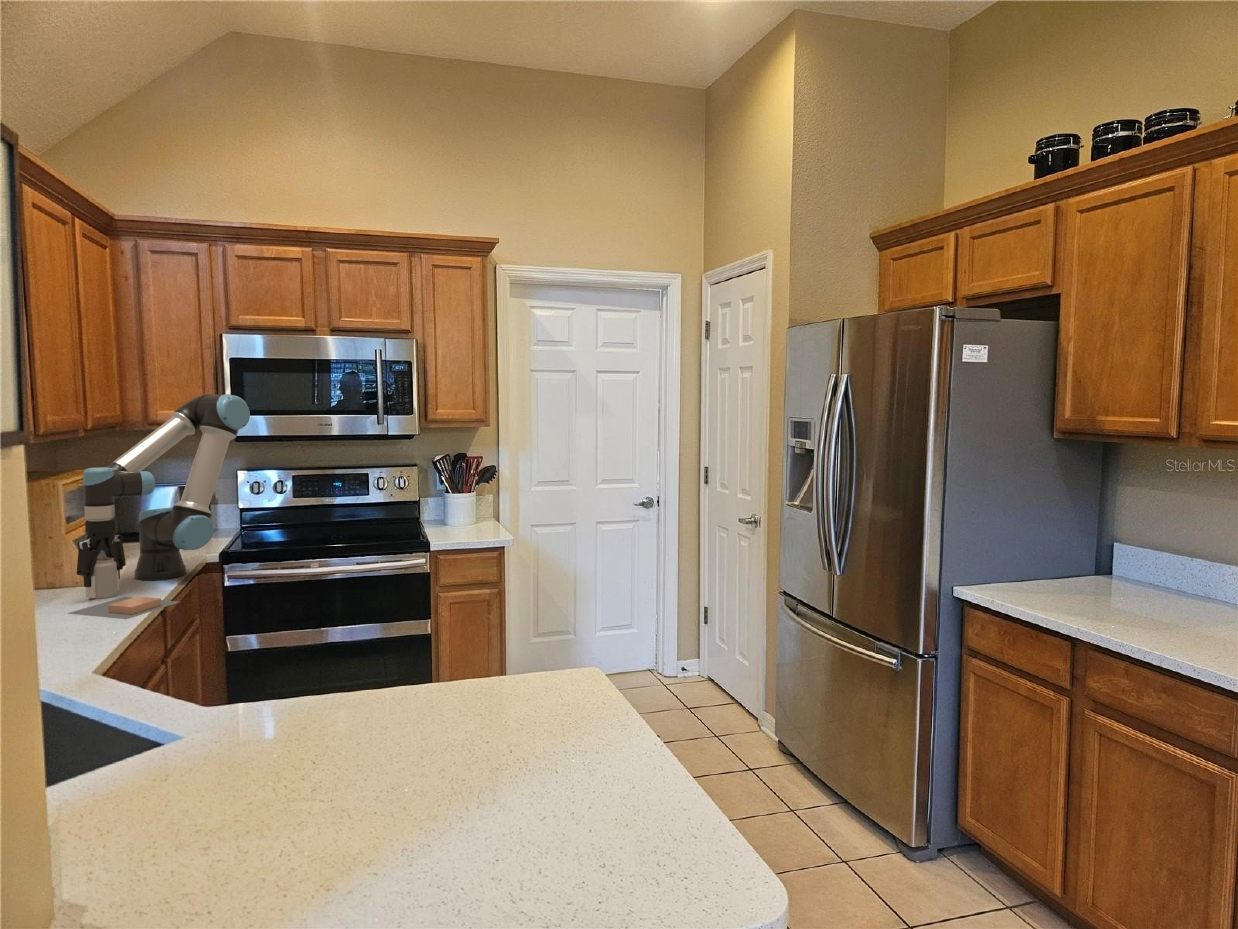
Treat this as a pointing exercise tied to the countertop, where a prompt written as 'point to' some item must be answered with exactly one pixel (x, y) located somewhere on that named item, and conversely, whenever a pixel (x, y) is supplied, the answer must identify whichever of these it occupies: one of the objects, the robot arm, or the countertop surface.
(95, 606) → the mat
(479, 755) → the countertop surface
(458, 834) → the countertop surface
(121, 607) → the tile
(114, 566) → the can
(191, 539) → the robot arm
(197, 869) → the countertop surface
